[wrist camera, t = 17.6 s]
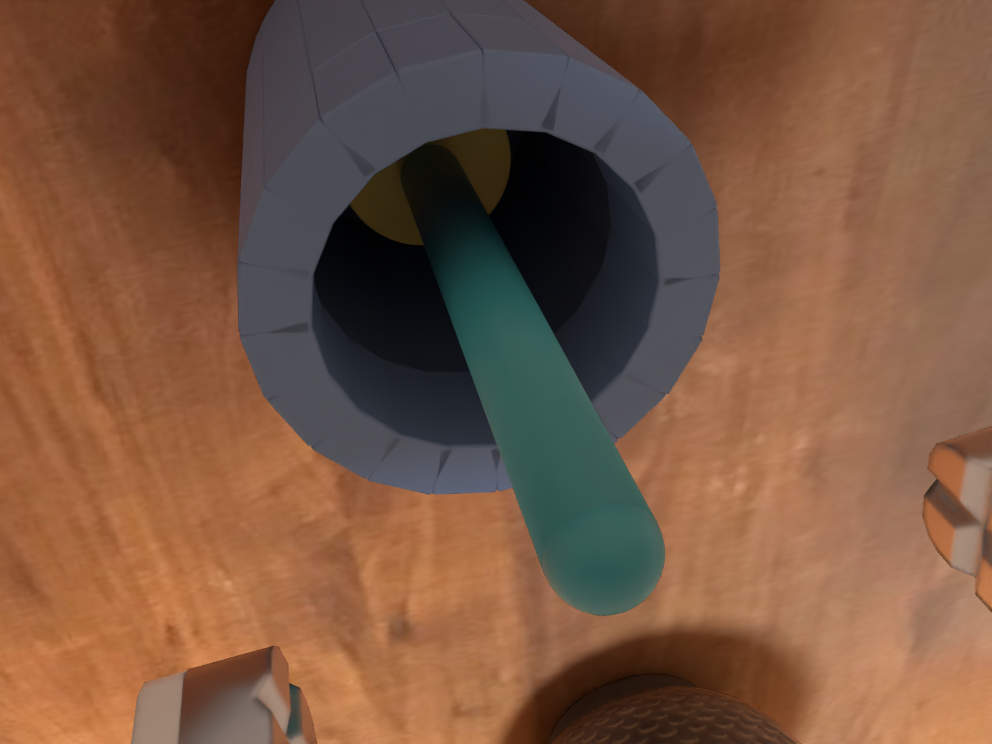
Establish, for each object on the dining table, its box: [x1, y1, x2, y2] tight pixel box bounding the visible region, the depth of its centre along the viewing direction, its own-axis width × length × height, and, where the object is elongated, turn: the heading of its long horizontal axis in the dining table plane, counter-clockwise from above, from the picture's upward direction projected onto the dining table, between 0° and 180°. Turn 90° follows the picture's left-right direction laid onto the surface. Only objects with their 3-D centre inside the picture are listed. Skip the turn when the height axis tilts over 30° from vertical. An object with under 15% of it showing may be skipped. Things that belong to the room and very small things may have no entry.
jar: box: [237, 0, 720, 494], centre depth 23 cm, size 9×9×14 cm
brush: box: [350, 128, 665, 616], centre depth 19 cm, size 5×5×21 cm
